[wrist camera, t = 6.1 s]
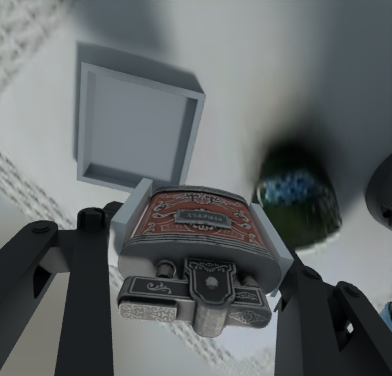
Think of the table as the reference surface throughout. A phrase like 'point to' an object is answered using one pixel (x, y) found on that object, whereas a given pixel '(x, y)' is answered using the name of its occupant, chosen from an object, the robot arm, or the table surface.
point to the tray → (134, 130)
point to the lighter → (197, 263)
